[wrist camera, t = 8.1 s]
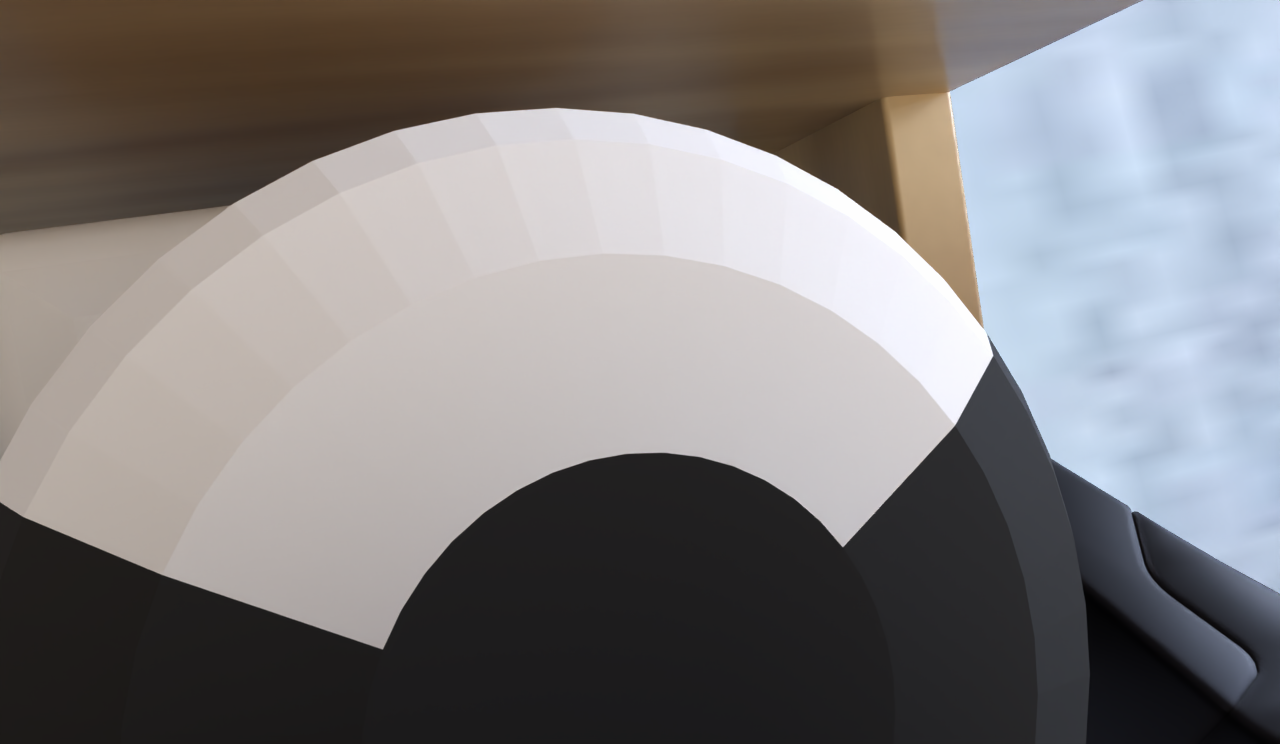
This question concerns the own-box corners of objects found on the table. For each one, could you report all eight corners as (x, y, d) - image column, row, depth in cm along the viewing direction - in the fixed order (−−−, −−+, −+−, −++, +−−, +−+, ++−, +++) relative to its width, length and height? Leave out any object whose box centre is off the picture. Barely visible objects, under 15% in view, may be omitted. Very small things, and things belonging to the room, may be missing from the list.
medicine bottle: (660, 672, 17) (1361, 1176, 6) (198, 804, 15) (-120, 2020, 4) (581, 243, 17) (1142, -94, 6) (102, 314, 15) (-538, -5, 4)
